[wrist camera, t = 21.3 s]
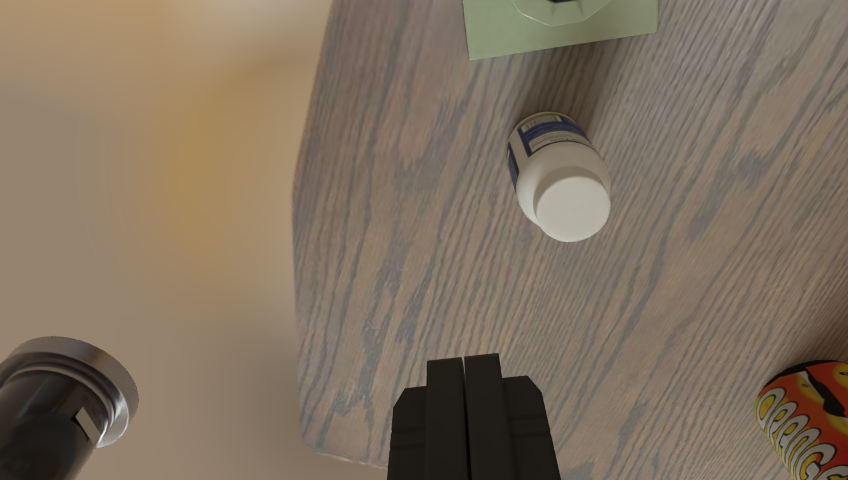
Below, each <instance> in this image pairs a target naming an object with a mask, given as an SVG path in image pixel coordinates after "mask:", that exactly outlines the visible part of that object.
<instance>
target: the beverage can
mask: <svg viewBox="0 0 848 480" xmlns="http://www.w3.org/2000/svg"><path fill="white" fill-rule="evenodd" d="M755 417H756V419H757V422H758V424H759V425H760V427H761V429H762V430H763V432H764V433H765V435H766V436H767V438H768V440H769V441H770V443H771V444H772V446H773V447H774V449H775V451H776V452H777V454H778V455H779V457H780V458H781V460H782V462H783V463H784V465H785V466H786V468H787V469H788V471H789V473H790V474H791V476H792V477H793V479H794V480H848V364H846V363H843V362H838V361H833V360H817V361H811V362H806V363H802V364H799V365H797V366H794V367H791V368H789V369H787V370H785V371H784V372H782V373H780V374H779V375H777V376H775V377H774V378H773V379H772V380H771V381H770V382H769V383H768V384H767V385H765V387H764V388H763V389H762V391H761V392H760V394H759V395H758V397H757V401H756V404H755Z"/></svg>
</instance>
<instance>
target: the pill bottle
mask: <svg viewBox="0 0 848 480" xmlns="http://www.w3.org/2000/svg"><path fill="white" fill-rule="evenodd" d="M506 160H507V165H508V169H509V172H510V175H511V179H512V182H513V185H514V188H515V192H516V195H517V199H518V202H519V204H520V206H521V208H522V210H523V212H524V213H525V214H526V216H527V217H528V218H529V219H530V220H531V221H533V222H534V223H535V224H537V225H539V226H540V227H541V228H542V230H543V231H544V232H545V233H546V234H547V235H549V236H550V237H552V238H554V239H556V240H560V241H565V242H575V241H579V240H583V239H586V238H588V237H590V236H592V235H593V234H595V233H596V232H597V231H599V230H600V229H601V228H602V226H603V225H604V224H605V222H606V221H607V219H608V216H609V213H610V206H611V202H610V197H609V193H610V186H611V182H610V175H609V171H608V168H607V166H606V164H605V162H604V160H603V159H602V158H601V156H600V155H599V153H598V152H597V151H596V149H595V148H594V146H593V145H592V144H591V142H590V141H589V139H588V138H587V136H586V135H585V133H584V132H583V131H582V129H581V128H580V127H579V126H578V125H577V123H576V122H575V121H573V120H572V119H571V118H569V117H568V116H566V115H564V114H561V113H557V112H541V113H537V114H534V115H531V116H529V117H527V118H525V119H524V120H523V121H521V122H520V123H519V124H518V125H517V126H516V127H515V129H514V130H513V131H512V133H511V135H510V137H509V139H508V142H507V145H506Z"/></svg>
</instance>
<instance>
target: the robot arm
mask: <svg viewBox="0 0 848 480" xmlns="http://www.w3.org/2000/svg"><path fill="white" fill-rule="evenodd" d="M464 362H465V373H464V367H463V361H462V357H457V358H448V359H439V360H429V361H427V384H426V386H422V387H412V388H405V389H404V391H403V392H402V394H401V396H400V397H399V399H398V401H397V402H396V404H395V406H394V407H393V418H392V433H391V441H390V452H389V463H388V475H387V480H561V477H560V473H559V468H558V464H557V459H556V455H555V450H554V446H553V441H552V437H551V434H550V428H549V423H548V419H547V415H546V410H545V405H544V401H543V396H542V392H541V391H540V390H539V389H538V388H537V386H536V385H535V384H534V383H533V382H532V380H531V379H530V378H529V377H528V376H517V377H507V378H502V374H501V367H500V360H499V354H498V353H493V354H484V355H475V356H465V357H464ZM465 378H466V380H465ZM113 419H114V409H113V406H112V403H111V401H110V399H109V397H108V395H107V394H106V393H105V391H104V390H103V389H102V388H101V387H100V386H99V385H98V384H97V383H96V382H94V381H93V380H92V379H90V378H89V377H87V376H86V375H84V374H82V373H80V372H78V371H76V370H74V369H71V368H68V367H65V366H61V365H56V364H47V363H40V364H32V365H28V366H25V367H22V368H20V369H18V370H17V371H15V372H14V373H13V374H12V375H11V376H10V377H9V378H8V379H7V380H6V381H5V382H1V383H0V480H75V479H76V478H77V476H78V474H79V473H80V471H81V469H82V468H83V467H84V465H85V464H86V462H87V461H88V459H89V457H90V456H91V454H92V453H93V451H94V450H95V448H96V447H97V445H98V443H99V442H100V440H101V439H102V438H103V437H104V436H105V435H106V433H107V432H108V430H109V429H110V427H111V425H112V423H113Z"/></svg>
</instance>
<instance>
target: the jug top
mask: <svg viewBox="0 0 848 480" xmlns="http://www.w3.org/2000/svg"><path fill="white" fill-rule="evenodd" d="M462 7H463V16H464V25H465V33H466V42H467V51H468V56H469V60H476V59H483V58H490V57H496V56H503V55H509V54H516V53H523V52H529V51H536V50H543V49H549V48H556V47H562V46H569V45H576V44H582V43H589V42H595V41H602V40H609V39H615V38H622V37H628V36H635V35H642V34H648V33H655V32H657V19H658V0H462Z"/></svg>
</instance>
